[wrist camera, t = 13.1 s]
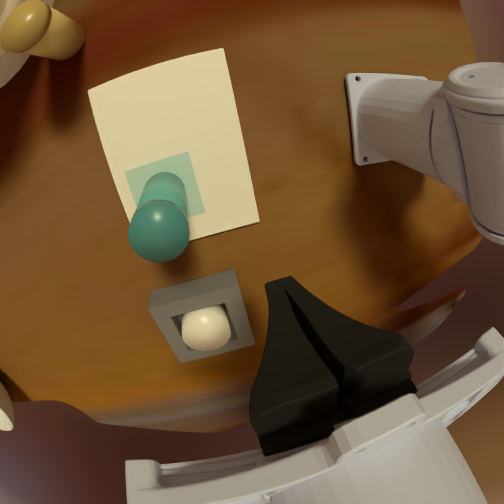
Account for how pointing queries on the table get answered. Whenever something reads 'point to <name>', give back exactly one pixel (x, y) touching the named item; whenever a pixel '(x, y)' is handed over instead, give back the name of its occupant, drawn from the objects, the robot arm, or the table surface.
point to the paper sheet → (179, 138)
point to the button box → (195, 298)
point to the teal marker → (160, 219)
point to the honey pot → (7, 63)
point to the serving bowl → (6, 410)
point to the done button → (206, 328)
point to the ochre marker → (41, 32)
